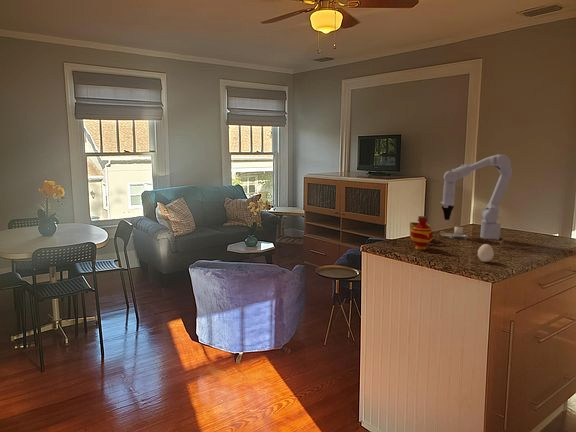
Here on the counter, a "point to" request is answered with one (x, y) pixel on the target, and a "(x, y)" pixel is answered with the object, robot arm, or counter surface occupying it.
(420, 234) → the red and yellow vase
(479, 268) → the counter surface
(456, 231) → the beige mushroom
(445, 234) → the rod with orange cap
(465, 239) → the board
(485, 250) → the egg
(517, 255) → the counter surface
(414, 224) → the flower pot
